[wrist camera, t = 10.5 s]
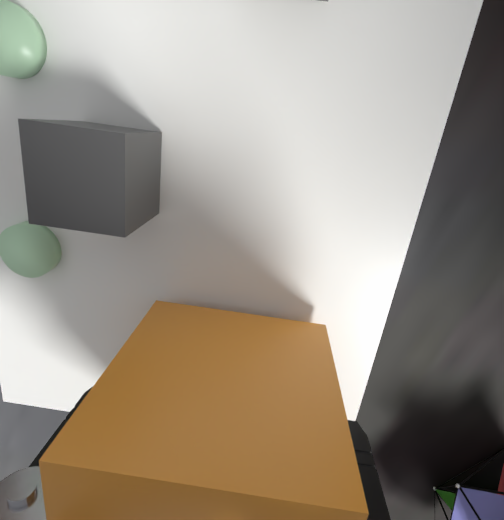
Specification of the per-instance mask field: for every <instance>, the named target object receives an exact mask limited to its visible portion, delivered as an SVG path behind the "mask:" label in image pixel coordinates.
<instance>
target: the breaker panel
mask: <svg viewBox="0 0 504 520" xmlns="http://www.w3.org/2000/svg"><path fill="white" fill-rule="evenodd" d="M482 3H483V0H328V2H327V1H319V0H0V383H1V389H2V396H3V401H5V402H11V403H17V404H24V405H30V406H36V407H43V408H49V409H56V410H62V411H68V412H70V411H71V410H72V409H73V408H74V407H75V405H76V403H77V402H78V401H79V399H80V398H81V397H82V395H83V394H84V393H85V392H86V391H87V390H89V389H90V388H91V387H93V386H94V385H95V383H96V382H97V380H98V379H99V378H100V376H101V375H102V374H103V372H104V371H105V370H106V368H107V367H108V365H109V364H110V363H111V361H112V360H113V359H114V357H115V356H116V355H117V353H118V352H119V350H120V349H121V348H122V346H123V345H124V344H125V342H126V341H127V340H128V338H129V337H130V335H131V334H132V333H133V331H134V330H135V329H136V327H137V326H138V325H139V323H140V322H141V320H142V319H143V318H144V316H145V315H146V314H147V312H148V311H149V310H150V308H151V307H152V305H153V304H154V303H155V301H156V300H158V301H164V302H171V303H178V304H185V305H192V306H199V307H206V308H213V309H220V310H227V311H234V312H241V313H247V314H254V315H261V316H268V317H275V318H282V319H289V320H296V321H303V322H310V323H317V324H324V325H326V328H327V333H328V337H329V342H330V346H331V350H332V355H333V359H334V363H335V368H336V372H337V377H338V381H339V385H340V390H341V394H342V398H343V403H344V407H345V412H346V416H347V420H351V421H355V420H356V417H357V414H358V411H359V407H360V404H361V401H362V397H363V394H364V391H365V388H366V384H367V381H368V378H369V374H370V371H371V368H372V365H373V361H374V358H375V355H376V351H377V348H378V345H379V342H380V338H381V335H382V332H383V328H384V325H385V322H386V319H387V315H388V312H389V309H390V305H391V302H392V299H393V296H394V292H395V289H396V286H397V282H398V279H399V276H400V273H401V269H402V266H403V263H404V259H405V256H406V253H407V250H408V246H409V243H410V240H411V236H412V233H413V230H414V227H415V223H416V220H417V217H418V213H419V210H420V207H421V203H422V200H423V197H424V194H425V190H426V187H427V184H428V180H429V177H430V174H431V171H432V167H433V164H434V161H435V157H436V154H437V151H438V148H439V144H440V141H441V138H442V134H443V131H444V128H445V125H446V121H447V118H448V115H449V111H450V108H451V105H452V102H453V98H454V95H455V92H456V88H457V85H458V82H459V79H460V75H461V72H462V69H463V65H464V62H465V59H466V56H467V52H468V49H469V46H470V42H471V39H472V36H473V33H474V29H475V26H476V23H477V19H478V16H479V13H480V10H481V6H482ZM18 119H42V120H69V121H84V122H92V123H99V124H106V125H113V126H121V127H128V128H135V129H142V130H149V131H157V132H162V146H161V176H160V206H159V214H158V215H156V216H155V217H153V218H152V219H151V220H149V221H148V222H146V223H145V224H144V225H142V226H141V227H139V228H138V229H137V230H135V231H134V232H132V233H131V234H130V235H128V236H127V237H125V238H124V237H117V236H111V235H104V234H97V233H90V232H83V231H76V230H69V229H62V228H56V227H49V226H42V225H35V224H29V221H28V211H27V202H26V192H25V182H24V173H23V163H22V154H21V144H20V134H19V125H18Z"/></svg>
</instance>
